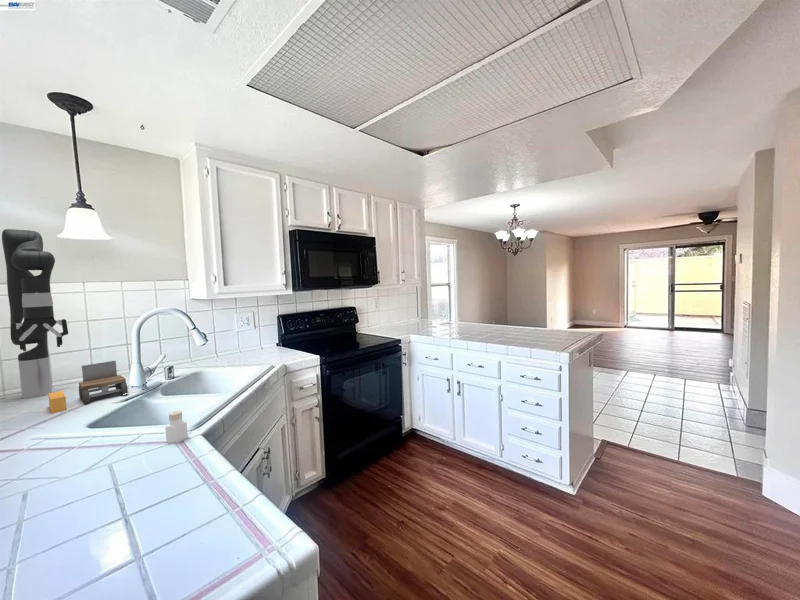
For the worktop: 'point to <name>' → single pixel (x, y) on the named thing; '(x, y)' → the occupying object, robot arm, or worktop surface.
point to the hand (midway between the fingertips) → (42, 348)
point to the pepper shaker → (176, 428)
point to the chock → (57, 401)
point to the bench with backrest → (100, 380)
